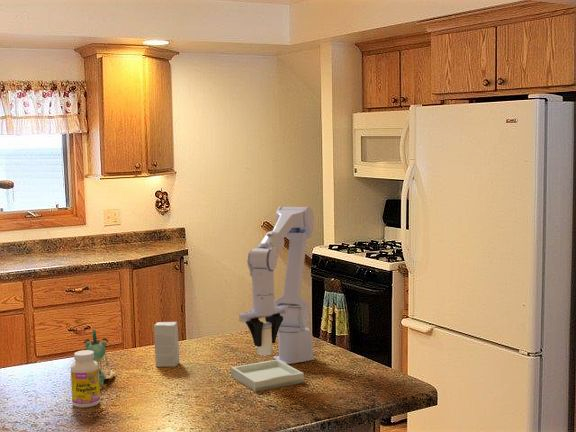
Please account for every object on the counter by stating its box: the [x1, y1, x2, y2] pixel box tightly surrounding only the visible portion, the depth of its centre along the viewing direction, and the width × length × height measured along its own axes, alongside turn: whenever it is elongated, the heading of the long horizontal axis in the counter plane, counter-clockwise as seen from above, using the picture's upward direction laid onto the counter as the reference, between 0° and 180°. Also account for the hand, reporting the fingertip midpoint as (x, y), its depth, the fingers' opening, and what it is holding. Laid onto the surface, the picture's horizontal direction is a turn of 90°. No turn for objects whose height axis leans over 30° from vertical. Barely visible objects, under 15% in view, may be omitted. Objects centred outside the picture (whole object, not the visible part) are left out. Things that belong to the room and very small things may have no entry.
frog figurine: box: [83, 329, 116, 390], centre depth 212 cm, size 10×18×15 cm, turn 7°
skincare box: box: [153, 321, 180, 368], centre depth 223 cm, size 6×4×12 cm
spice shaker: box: [256, 321, 273, 356], centre depth 208 cm, size 4×4×8 cm
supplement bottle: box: [70, 349, 101, 409], centre depth 192 cm, size 7×7×13 cm
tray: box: [230, 359, 305, 393], centre depth 208 cm, size 14×15×2 cm
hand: (265, 344), depth 208 cm, fingers closed on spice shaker, 4 cm apart
